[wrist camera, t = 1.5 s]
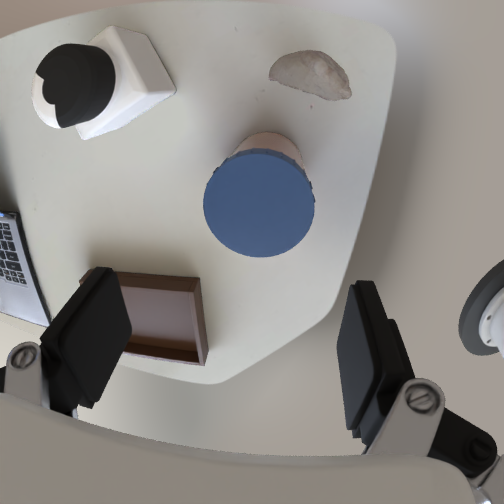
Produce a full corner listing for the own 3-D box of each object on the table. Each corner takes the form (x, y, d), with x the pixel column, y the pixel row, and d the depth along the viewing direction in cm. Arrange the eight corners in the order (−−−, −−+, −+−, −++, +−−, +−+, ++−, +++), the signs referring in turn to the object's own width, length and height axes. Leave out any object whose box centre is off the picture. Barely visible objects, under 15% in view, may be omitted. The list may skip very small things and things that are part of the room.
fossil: (268, 86, 25) (261, 82, 16) (277, 50, 23) (273, 29, 15) (332, 102, 25) (357, 108, 16) (341, 67, 23) (370, 56, 15)
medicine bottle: (147, 33, 23) (73, 14, 13) (178, 91, 26) (115, 97, 15) (92, 74, 25) (9, 81, 15) (120, 128, 28) (45, 157, 17)
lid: (316, 149, 19) (319, 155, 17) (308, 247, 22) (310, 260, 21) (206, 147, 19) (199, 152, 18) (211, 242, 23) (205, 255, 21)
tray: (199, 277, 36) (193, 292, 33) (208, 351, 42) (204, 366, 39) (89, 269, 37) (78, 281, 34) (111, 337, 43) (104, 350, 40)
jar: (304, 133, 27) (315, 156, 18) (300, 200, 30) (307, 254, 21) (231, 131, 27) (204, 154, 18) (233, 198, 31) (209, 250, 21)
